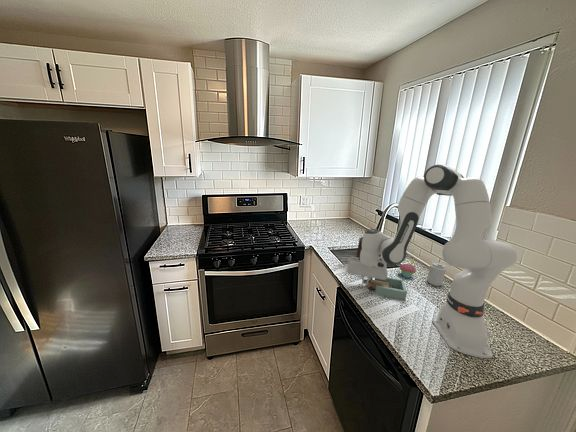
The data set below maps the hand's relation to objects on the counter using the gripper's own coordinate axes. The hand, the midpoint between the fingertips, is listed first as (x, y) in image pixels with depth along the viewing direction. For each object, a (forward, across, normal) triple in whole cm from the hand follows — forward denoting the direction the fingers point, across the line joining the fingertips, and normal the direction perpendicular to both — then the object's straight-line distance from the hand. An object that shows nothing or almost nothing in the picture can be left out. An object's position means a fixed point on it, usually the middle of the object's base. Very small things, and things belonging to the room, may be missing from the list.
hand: (364, 283), depth 127 cm
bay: (+2, +12, 0) cm, 12 cm away
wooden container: (+2, +2, +23) cm, 23 cm away
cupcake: (+2, +24, +21) cm, 32 cm away
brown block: (+2, +7, 0) cm, 7 cm away
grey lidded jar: (+2, +38, +18) cm, 42 cm away
